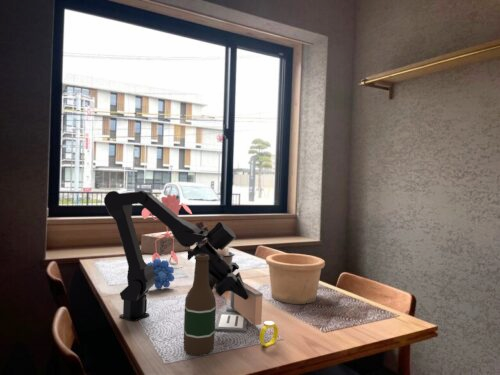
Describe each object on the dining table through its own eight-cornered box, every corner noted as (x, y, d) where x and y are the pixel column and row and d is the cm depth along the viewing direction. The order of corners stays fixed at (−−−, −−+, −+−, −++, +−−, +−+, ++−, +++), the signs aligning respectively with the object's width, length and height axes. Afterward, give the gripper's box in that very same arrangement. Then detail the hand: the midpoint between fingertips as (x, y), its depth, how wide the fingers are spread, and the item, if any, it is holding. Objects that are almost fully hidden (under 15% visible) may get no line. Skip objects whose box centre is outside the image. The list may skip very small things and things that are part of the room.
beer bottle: (215, 343, 100) (218, 252, 99) (213, 356, 92) (216, 258, 91) (185, 342, 99) (188, 251, 99) (180, 356, 92) (184, 257, 91)
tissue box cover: (172, 246, 237) (173, 230, 237) (190, 249, 230) (190, 233, 230) (140, 252, 216) (141, 234, 216) (158, 255, 208) (159, 237, 208)
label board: (220, 307, 127) (221, 304, 127) (247, 308, 127) (247, 305, 127) (214, 330, 108) (214, 326, 108) (245, 332, 108) (246, 327, 107)
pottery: (325, 292, 150) (326, 256, 150) (320, 310, 129) (322, 268, 128) (271, 286, 156) (273, 251, 155) (258, 302, 134) (260, 262, 134)
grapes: (146, 293, 139) (147, 261, 139) (142, 288, 145) (143, 257, 145) (177, 290, 145) (178, 259, 144) (172, 285, 151) (173, 255, 150)
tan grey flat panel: (229, 305, 125) (230, 278, 125) (235, 304, 126) (236, 277, 126) (254, 325, 109) (255, 294, 109) (261, 324, 110) (263, 293, 110)
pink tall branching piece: (136, 265, 181) (139, 193, 180) (182, 260, 199) (185, 193, 197) (151, 273, 170) (155, 195, 169) (199, 266, 187) (202, 195, 186)
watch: (265, 350, 97) (264, 328, 97) (257, 347, 99) (257, 324, 99) (280, 342, 101) (280, 320, 101) (272, 339, 103) (272, 317, 103)
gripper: (196, 270, 122) (229, 306, 122) (186, 287, 104) (224, 328, 104) (221, 247, 122) (254, 282, 122) (215, 259, 103) (254, 301, 103)
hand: (247, 298), depth 113 cm, fingers closed
